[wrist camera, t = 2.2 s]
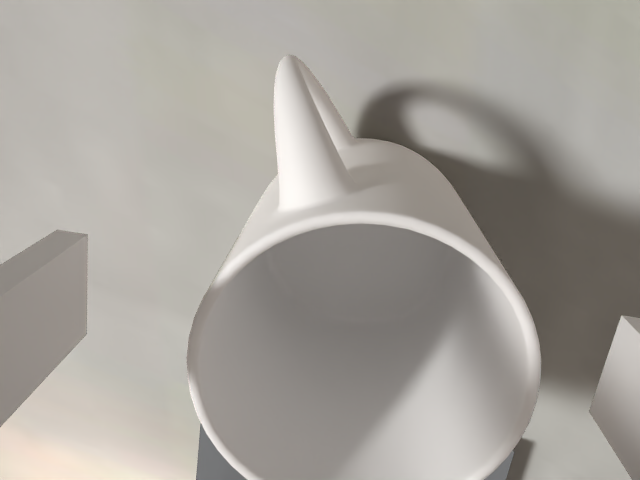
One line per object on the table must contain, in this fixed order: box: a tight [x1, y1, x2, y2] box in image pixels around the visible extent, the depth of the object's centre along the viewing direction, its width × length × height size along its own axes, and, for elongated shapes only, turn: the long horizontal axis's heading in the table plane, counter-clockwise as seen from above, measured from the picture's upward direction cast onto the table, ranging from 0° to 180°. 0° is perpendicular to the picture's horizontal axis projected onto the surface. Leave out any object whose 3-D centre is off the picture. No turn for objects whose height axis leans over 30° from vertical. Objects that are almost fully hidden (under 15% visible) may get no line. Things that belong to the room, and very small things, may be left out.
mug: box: [187, 55, 541, 480], centre depth 19 cm, size 9×12×11 cm
